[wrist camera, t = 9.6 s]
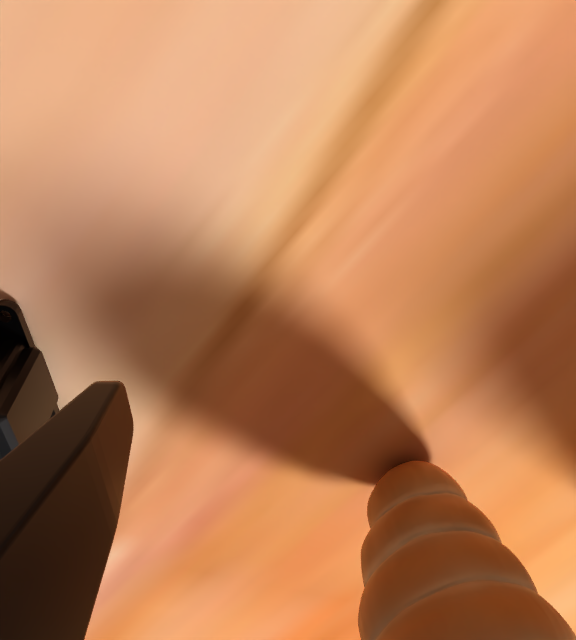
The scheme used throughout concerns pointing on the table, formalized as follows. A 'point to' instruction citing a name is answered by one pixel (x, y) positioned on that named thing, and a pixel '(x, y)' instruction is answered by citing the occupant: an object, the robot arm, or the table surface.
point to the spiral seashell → (443, 568)
